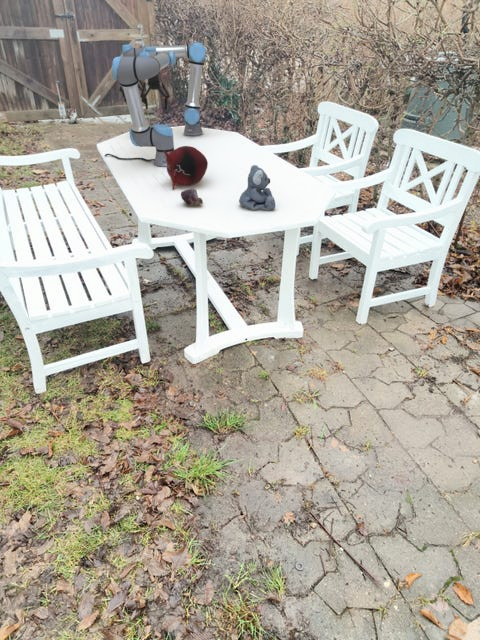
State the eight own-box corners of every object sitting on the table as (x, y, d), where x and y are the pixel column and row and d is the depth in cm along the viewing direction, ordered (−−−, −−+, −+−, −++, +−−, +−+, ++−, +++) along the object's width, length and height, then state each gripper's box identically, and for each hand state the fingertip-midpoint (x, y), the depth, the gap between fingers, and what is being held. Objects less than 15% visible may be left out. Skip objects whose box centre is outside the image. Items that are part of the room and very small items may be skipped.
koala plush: (276, 211, 223) (277, 171, 212) (240, 212, 222) (240, 172, 211) (271, 199, 237) (272, 161, 226) (237, 200, 236) (237, 162, 225)
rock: (196, 202, 238) (178, 205, 233) (194, 185, 234) (176, 188, 230) (205, 205, 228) (187, 208, 224) (203, 188, 224) (185, 191, 220)
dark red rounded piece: (165, 151, 264) (159, 150, 240) (204, 143, 263) (202, 140, 240) (174, 188, 271) (169, 190, 247) (212, 180, 270) (211, 181, 247)
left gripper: (172, 73, 298) (175, 108, 310) (136, 73, 301) (140, 107, 313) (169, 74, 292) (172, 110, 304) (132, 74, 295) (137, 109, 307)
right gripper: (148, 69, 326) (152, 101, 338) (115, 69, 329) (120, 100, 341) (145, 70, 320) (149, 102, 332) (111, 70, 323) (116, 102, 335)
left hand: (156, 109), depth 309 cm, fingers open, 13 cm apart
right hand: (134, 101), depth 337 cm, fingers open, 13 cm apart
